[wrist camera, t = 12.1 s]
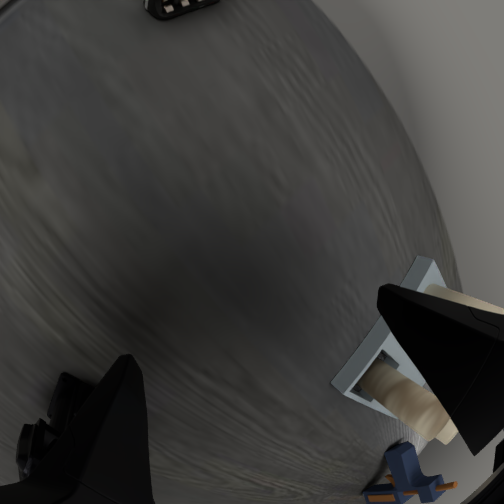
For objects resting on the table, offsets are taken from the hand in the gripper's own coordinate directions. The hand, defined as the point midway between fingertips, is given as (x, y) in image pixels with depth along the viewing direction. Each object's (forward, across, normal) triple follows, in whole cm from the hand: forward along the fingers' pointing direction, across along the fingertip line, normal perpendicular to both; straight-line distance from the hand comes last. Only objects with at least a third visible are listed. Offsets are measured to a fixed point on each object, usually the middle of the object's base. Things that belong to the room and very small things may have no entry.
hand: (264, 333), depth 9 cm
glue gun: (+6, -22, +60) cm, 64 cm away
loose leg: (+11, -13, +20) cm, 27 cm away
